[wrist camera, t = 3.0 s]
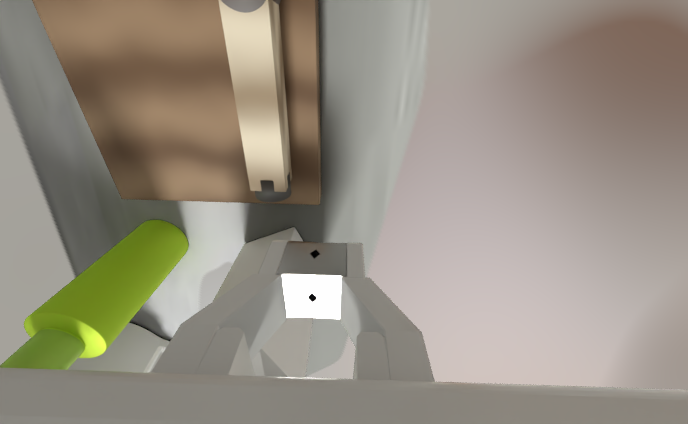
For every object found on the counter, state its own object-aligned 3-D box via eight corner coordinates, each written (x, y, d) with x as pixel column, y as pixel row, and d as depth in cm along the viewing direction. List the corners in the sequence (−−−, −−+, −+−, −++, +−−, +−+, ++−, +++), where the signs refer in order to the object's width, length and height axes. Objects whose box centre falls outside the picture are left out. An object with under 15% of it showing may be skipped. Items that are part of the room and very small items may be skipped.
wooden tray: (321, 193, 29) (316, 220, 24) (138, 188, 29) (97, 214, 24) (316, -99, 18) (305, -156, 13) (17, -110, 18) (-104, -171, 13)
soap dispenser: (121, 220, 31) (-163, 425, 14) (179, 219, 31) (-34, 425, 14) (142, 258, 34) (-70, 466, 17) (194, 257, 34) (36, 467, 17)
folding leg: (223, -51, 17) (199, -73, 14) (279, -49, 17) (266, -70, 14) (259, 186, 26) (248, 202, 23) (296, 187, 26) (289, 203, 23)
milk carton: (244, 243, 33) (139, 431, 16) (295, 225, 31) (237, 412, 15) (272, 282, 36) (210, 471, 19) (320, 267, 34) (295, 458, 18)
